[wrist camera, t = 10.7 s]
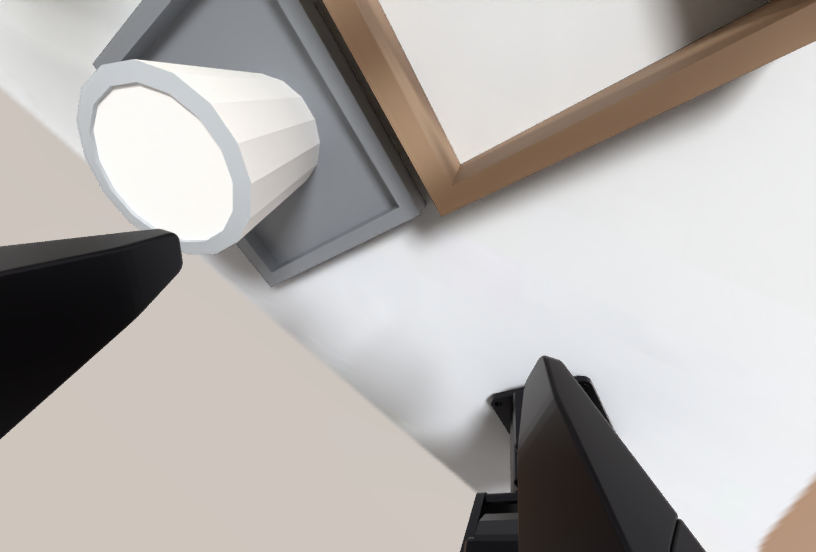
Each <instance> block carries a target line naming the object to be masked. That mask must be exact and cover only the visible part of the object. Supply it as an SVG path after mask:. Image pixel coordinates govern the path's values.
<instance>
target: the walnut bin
mask: <svg viewBox="0 0 816 552" xmlns="http://www.w3.org/2000/svg"><path fill="white" fill-rule="evenodd" d="M322 1H323V2H324V4H325V6H326V8H327V10H328V12H329V13H330V15H331V17H332V19H333V21H334V22H335V24H336V26H337V28H338V30H339V32H340V33H341V35H342V37H343V39H344V41H345V42H346V44H347V46H348V48H349V50H350V52H351V53H352V55H353V57H354V59H355V61H356V62H357V64H358V66H359V68H360V70H361V71H362V73H363V75H364V77H365V79H366V81H367V82H368V84H369V86H370V88H371V90H372V91H373V93H374V95H375V97H376V99H377V101H378V102H379V104H380V106H381V108H382V110H383V111H384V113H385V115H386V117H387V119H388V121H389V122H390V124H391V126H392V128H393V130H394V131H395V133H396V135H397V137H398V139H399V140H400V142H401V144H402V146H403V148H404V150H405V151H406V153H407V155H408V157H409V159H410V160H411V162H412V164H413V166H414V168H415V170H416V171H417V173H418V175H419V177H420V179H421V180H422V182H423V184H424V186H425V188H426V190H427V191H428V193H429V195H430V197H431V199H432V200H433V202H434V204H435V206H436V208H437V209H438V211H439V213H440V215H441V217H442V216H444V215H446V214H448V213H450V212H452V211H454V210H456V209H459V208H461V207H463V206H465V205H467V204H469V203H471V202H474V201H476V200H478V199H480V198H482V197H484V196H486V195H488V194H491V193H493V192H495V191H497V190H499V189H501V188H503V187H505V186H508V185H510V184H512V183H514V182H516V181H518V180H520V179H523V178H525V177H527V176H529V175H531V174H533V173H535V172H537V171H540V170H542V169H544V168H546V167H548V166H550V165H552V164H554V163H557V162H559V161H561V160H563V159H565V158H567V157H569V156H572V155H574V154H576V153H578V152H580V151H582V150H584V149H586V148H589V147H591V146H593V145H595V144H597V143H599V142H601V141H603V140H606V139H608V138H610V137H612V136H614V135H616V134H618V133H621V132H623V131H625V130H627V129H629V128H631V127H633V126H635V125H638V124H640V123H642V122H644V121H646V120H648V119H650V118H652V117H655V116H657V115H659V114H661V113H663V112H665V111H667V110H670V109H672V108H674V107H676V106H678V105H680V104H682V103H684V102H687V101H689V100H691V99H693V98H695V97H697V96H699V95H701V94H704V93H706V92H708V91H710V90H712V89H714V88H716V87H719V86H721V85H723V84H725V83H727V82H729V81H731V80H733V79H736V78H738V77H740V76H742V75H744V74H746V73H748V72H750V71H753V70H755V69H757V68H759V67H761V66H763V65H765V64H768V63H770V62H772V61H774V60H776V59H778V58H780V57H782V56H785V55H787V54H789V53H791V52H793V51H795V50H797V49H799V48H802V47H804V46H806V45H808V44H810V43H812V42H814V41H816V0H771V2H769V3H767V4H765V5H763V6H761V7H759V8H758V9H756V10H754V11H752V12H750V13H748V14H746V15H744V16H742V17H740V18H739V19H737V20H735V21H733V22H731V23H729V24H727V25H725V26H723V27H721V28H720V29H718V30H716V31H714V32H712V33H710V34H708V35H706V36H704V37H702V38H700V39H699V40H697V41H695V42H693V43H691V44H689V45H687V46H685V47H683V48H681V49H680V50H678V51H676V52H674V53H672V54H670V55H668V56H666V57H664V58H662V59H661V60H659V61H657V62H655V63H653V64H651V65H649V66H647V67H645V68H643V69H642V70H640V71H638V72H636V73H634V74H632V75H630V76H628V77H626V78H624V79H623V80H621V81H619V82H617V83H615V84H613V85H611V86H609V87H607V88H605V89H604V90H602V91H600V92H598V93H596V94H594V95H592V96H590V97H588V98H586V99H585V100H583V101H581V102H579V103H577V104H575V105H573V106H571V107H569V108H567V109H565V110H564V111H562V112H560V113H558V114H556V115H554V116H552V117H550V118H548V119H546V120H545V121H543V122H541V123H539V124H537V125H535V126H533V127H531V128H529V129H527V130H526V131H524V132H522V133H520V134H518V135H516V136H514V137H512V138H510V139H508V140H507V141H505V142H503V143H501V144H499V145H497V146H495V147H493V148H491V149H489V150H488V151H486V152H484V153H482V154H480V155H478V156H476V157H474V158H472V159H470V160H469V161H467V162H465V163H463V164H461V165H460V163H459V161H458V159H457V157H456V155H455V153H454V151H453V149H452V147H451V145H450V143H449V141H448V139H447V137H446V135H445V133H444V131H443V129H442V127H441V125H440V123H439V121H438V119H437V117H436V115H435V113H434V111H433V109H432V107H431V105H430V103H429V101H428V99H427V97H426V95H425V93H424V91H423V89H422V87H421V85H420V83H419V81H418V79H417V77H416V75H415V73H414V71H413V69H412V67H411V65H410V63H409V61H408V59H407V57H406V55H405V53H404V51H403V49H402V47H401V45H400V43H399V41H398V39H397V37H396V35H395V33H394V31H393V29H392V27H391V25H390V23H389V21H388V19H387V17H386V15H385V13H384V11H383V9H382V7H381V5H380V3H379V1H378V0H322Z"/></svg>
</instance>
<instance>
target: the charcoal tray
mask: <svg viewBox="0 0 816 552" xmlns="http://www.w3.org/2000/svg"><path fill="white" fill-rule="evenodd" d="M132 59H137V60H146V61H155V62H164V63H172V64H181V65H190V66H199V67H208V68H216V69H225V70H234V71H243V72H252V73H261V74H264V75H267V76H270V77H273V78H276V79H279V80H282V81H284V82H285V83H286V84H287V85H288V86H289V87H291V88H292V89H293V90H294V91H295V92H296V93H298V94H299V95H300V96H301V97H302V98H303V100H304V102H305V103H306V105H307V107H308V108H309V110H310V112H311V113H312V115H313V117H314V118H315V122H316V126H317V131H318V135H319V140H320V148H319V155H318V163H317V165H316V167H315V168H314V170H313V172H312V173H311V175H310V177H309V178H308V180H306V181H305V182H304V183H303V184H302V185H301V186H300V187H299V188H297V189H296V190H295V191H294V192H293V193H292V194H291V195H290V196H289V197H287V198H286V199H285V200H284V201H283V202H282V203H281V204H280V205H278V206H277V207H276V208H275V209H274V210H273V211H272V212H271V213H269V214H268V215H267V216H266V217H265V218H264V219H263V220H262V221H260V222H259V223H258V224H257V225H256V226H255V227H254V228H253V229H252V230H250V231H249V232H248V233H247V234H246V235H245V236H244V237H243V238H241V239H240V240H239V241H238V242H237V243H236V244H237V245H238V247H239V248H240V249H241V250H242V252H243V253H244V254H245V256H246V257H247V258H248V259H249V261H250V262H251V263H252V264H253V266H254V267H255V268H256V269H257V271H258V272H259V273H260V274H261V276H262V277H263V278H264V279H265V281H266V282H267V283H268V284H269V286H270V287H272V286H274V285H276V284H279V283H281V282H283V281H285V280H287V279H289V278H291V277H293V276H295V275H297V274H299V273H301V272H303V271H305V270H307V269H309V268H311V267H314V266H316V265H318V264H320V263H322V262H324V261H326V260H328V259H330V258H332V257H334V256H336V255H338V254H340V253H342V252H344V251H346V250H349V249H351V248H353V247H355V246H357V245H359V244H361V243H363V242H365V241H367V240H369V239H371V238H373V237H375V236H377V235H379V234H381V233H384V232H386V231H388V230H390V229H392V228H394V227H396V226H398V225H400V224H402V223H404V222H406V221H408V220H410V219H412V218H414V217H416V216H418V215H421V213H422V211H423V210H424V208H425V206H426V202H425V200H424V199H423V197H422V195H421V193H420V191H419V190H418V188H417V186H416V184H415V183H414V181H413V179H412V177H411V175H410V174H409V172H408V170H407V168H406V166H405V165H404V163H403V161H402V159H401V157H400V156H399V154H398V152H397V150H396V149H395V147H394V145H393V143H392V141H391V140H390V138H389V136H388V134H387V132H386V131H385V129H384V127H383V125H382V124H381V122H380V120H379V118H378V116H377V115H376V113H375V111H374V109H373V107H372V106H371V104H370V102H369V100H368V98H367V97H366V95H365V93H364V91H363V90H362V88H361V86H360V84H359V82H358V81H357V79H356V77H355V75H354V73H353V72H352V70H351V68H350V66H349V65H348V63H347V61H346V59H345V57H344V56H343V54H342V52H341V50H340V48H339V47H338V45H337V43H336V41H335V39H334V38H333V36H332V34H331V32H330V31H329V29H328V27H327V25H326V23H325V22H324V20H323V18H322V16H321V14H320V13H319V11H318V9H317V7H316V6H315V4H314V2H313V0H142V1H141V3H140V4H139V5H138V7H137V8H136V9H135V10H134V12H133V13H132V14H131V16H130V17H129V18H128V19H127V21H126V22H125V23H124V24H123V26H122V27H121V28H120V30H119V31H118V32H117V33H116V35H115V36H114V37H113V39H112V40H111V41H110V42H109V44H108V45H107V46H106V47H105V49H104V50H103V51H102V53H101V54H100V55H99V56H98V58H97V59H96V60H95V62H94V63H93V65H94V67H95V68H96V69H98V68H99V67H100V66H101V65H104V64H110V63H115V62H121V61H126V60H132Z"/></svg>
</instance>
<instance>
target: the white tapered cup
mask: <svg viewBox="0 0 816 552" xmlns="http://www.w3.org/2000/svg"><path fill="white" fill-rule="evenodd" d="M77 125H78V129H79V134H80V138H81V143H82V147H83V151H84V156H85V159H86V161H87V162H88V164H89V166H90V168H91V170H92V172H93V174H94V175H95V177H96V179H97V181H98V183H99V185H100V186H101V188H102V190H103V192H104V193H105V195H106V196H107V197H108V198H109V199H110V200H111V202H112V203H113V204H114V205H115V206H116V207H117V209H118V210H119V211H120V212H121V213H122V214H123V215H124V216H125V218H126V219H127V220H128V221H129V222H130V223H131V224H133V225H134V226H135V227H137V228H138V229H140V230H150V229H164V230H167V231H170V232H173V233H175V234H176V235H177V236H178V237H179V240H180V246H181V252H183V253H186V254H217V253H219V252H220V251H222V250H224V249H226V248H228V247H229V246H231V245H233V244H235V243H237V242H238V241H239V240H240V239H241V238H243V237H244V236H245V235H246V234H247V233H248V232H249V231H250V230H252V229H253V228H254V227H255V226H256V225H257V224H258V223H259V222H260V221H262V220H263V219H264V218H265V217H266V216H267V215H268V214H269V213H271V212H272V211H273V210H274V209H275V208H276V207H277V206H278V205H280V204H281V203H282V202H283V201H284V200H285V199H286V198H287V197H289V196H290V195H291V194H292V193H293V192H294V191H295V190H296V189H297V188H299V187H300V186H301V185H302V184H303V183H304V182H305V181H306V180H308V178H309V177H310V175H311V173H312V172H313V170H314V168H315V167H316V165H317V163H318V155H319V148H320V140H319V135H318V131H317V126H316V122H315V118H314V117H313V115H312V113H311V112H310V110H309V108H308V107H307V105H306V103H305V102H304V100H303V98H302V97H301V96H300V95H299V94H298V93H296V92H295V91H294V90H293V89H292V88H291V87H289V86H288V85H287V84H286V83H285V82H284V81H282V80H279V79H276V78H273V77H270V76H267V75H264V74H261V73H252V72H243V71H234V70H225V69H216V68H208V67H199V66H190V65H181V64H172V63H164V62H155V61H146V60H137V59H132V60H126V61H121V62H115V63H110V64H104V65H101V66H100V67H99V68H98V69H97V70H96V72H95V73H94V74H93V75H92V76H91V77H90V78H89V80H88V81H87V82H86V83H85V84H84V85H83V86H82V88H81V94H80V101H79V107H78V114H77Z"/></svg>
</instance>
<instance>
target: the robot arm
mask: <svg viewBox="0 0 816 552" xmlns="http://www.w3.org/2000/svg"><path fill="white" fill-rule="evenodd" d="M182 264H183V261H182V254H181V246H180V240H179V237H178V236H177V235H176V234H175V233H173V232H170V231H167V230H164V229H150V230H141V231H133V232H123V233H115V234H106V235H97V236H89V237H80V238H71V239H62V240H53V241H45V242H36V243H27V244H18V245H9V246H1V247H0V439H1V438H2V437H3V436H5V435H6V434H7V433H8V432H9V431H10V430H11V429H12V428H13V427H15V426H16V425H17V424H18V423H19V422H20V421H21V420H22V419H24V418H25V417H26V416H27V415H28V414H29V413H30V412H31V411H32V410H34V409H35V408H36V407H37V406H38V405H39V404H40V403H41V402H43V401H44V400H45V399H46V398H47V397H48V396H49V395H51V394H52V393H53V392H54V391H55V390H56V389H57V388H58V387H59V386H61V385H62V384H63V383H64V382H65V381H66V380H67V379H69V378H70V377H71V376H72V375H73V374H74V373H75V372H76V371H78V370H79V369H80V368H81V367H82V366H83V365H84V364H85V363H86V362H88V361H89V360H90V359H91V358H92V357H93V356H94V355H95V354H97V353H98V352H99V351H100V350H101V349H102V348H103V347H104V346H106V345H107V344H108V343H109V342H110V341H111V340H112V339H113V338H115V337H116V336H117V335H118V334H119V333H120V332H121V331H122V330H124V329H125V328H126V327H127V326H128V325H129V324H130V323H131V322H132V321H133V320H134V319H136V318H137V317H138V316H139V315H140V314H141V313H142V312H143V311H144V310H145V309H146V307H147V306H148V305H149V304H150V303H151V302H152V301H153V300H154V299H155V298H156V297H157V296H158V294H159V293H160V292H161V291H162V290H163V289H164V288H165V287H166V286H167V285H168V283H170V281H171V280H172V279H173V278H174V277H175V276H176V275H177V274H178V273H179V272H180V270H181V268H182ZM581 384H585V385H581ZM497 401H499V402H497ZM491 405H492V407H493V409H494V410H495V412H496V413H497V415H498V417H499V418H500V420H501V421H502V423H503V425H504V426H505V428H506V429H507V431H508V433H509V434H510V470H511V493H496V494H487V493H486V492H485V493H477V494H476V497H475V501H474V505H473V508H472V512H471V515H470V519H469V522H468V526H467V529H466V533H465V536H464V540H463V544H462V547H461V551H460V552H706V551H705V550H704V548H703V547H702V546H701V545H700V543H699V542H698V541H697V539H696V538H695V537H694V535H693V534H692V533H691V531H690V530H689V529H688V527H687V526H686V525H685V524H684V522H683V521H682V520H681V519H678V515H677V513H676V512H675V511H674V509H673V508H672V507H671V505H670V504H669V503H668V501H667V500H666V499H665V497H664V496H663V495H662V493H661V492H660V491H659V489H658V488H657V487H656V485H655V484H654V483H653V481H652V480H651V479H650V477H649V476H648V475H647V473H646V472H645V471H644V470H643V468H642V467H641V466H640V464H639V463H638V462H637V460H636V459H635V458H634V456H633V455H632V454H631V452H630V451H629V450H628V448H627V447H626V446H625V444H624V443H623V442H622V440H621V439H620V438H619V436H618V435H617V434H616V432H615V430H614V428H613V426H612V424H611V422H610V419H609V417H608V415H607V413H606V411H605V409H604V407H603V405H602V402H601V400H600V398H599V396H598V394H597V392H596V390H595V388H594V385H593V383H592V381H591V380H590V378H588V377H585V376H579V377H573V376H572V374H571V373H570V372H569V370H568V369H567V368H566V366H565V365H564V364H563V363H562V362H561V361H560V360H558V359H555V358H551V357H548V356H545V355H544V356H541V357H540V358H539V360H538V361H537V363H536V365H535V367H534V368H533V370H532V372H531V373H530V375H529V377H528V379H527V381H526V384H525V387H524V388H523V389H518V390H513V391H509V392H504V393H499V394H495V395H493V396H492V397H491Z"/></svg>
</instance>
